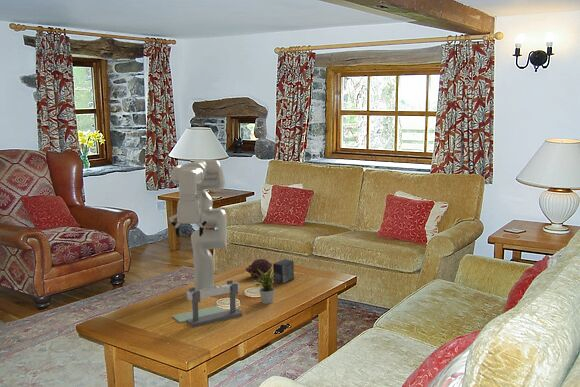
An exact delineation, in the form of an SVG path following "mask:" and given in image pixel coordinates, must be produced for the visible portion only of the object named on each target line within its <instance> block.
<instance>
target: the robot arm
mask: <svg viewBox="0 0 580 387" xmlns="http://www.w3.org/2000/svg"><path fill="white" fill-rule="evenodd" d="M170 178H171V181H172V183H174V185H178V192H179V193H178V194H179V200H178V201H177V207H176V214H174V215H172V216H170V217H168V220H169V222H170V223H171V225H172V226H173V227H174V228H175V236H177V238H179V237H180V236H181V231H180V230H181V229H180V225H181V224H182V225H190V224H191V225H193V224H195V225H196V227H198V228H199V229H196V230H194V231H192V232H191V235H190V242H191V247H192V255H193V273H194V274H193V276H194V287H195V290H199V289H205V288H210V287H215V283H214V278H215V277H214V256H213V254H212V253H211V251H210V250H211V249H215V250H216V249H217V250H219V249H220V250H221V249H224V248H225V247H226V245H227V238H228V237H227V236H228V215H227V212H226V210H225V209H223V208H213V202H214V201H213V198H212V196H211V195H210V194H209V193H208V191H220V190H222V189H224V187H225V182H226V180H225V175H224V170H223V166H222V164H221V162H220V161H219V160H218V159H198V160H194V162H189V163H185V164H178V165H176V166H174V167H173V168H172V170H171V173H170ZM174 219H176V221H174ZM204 228H206V229H204ZM207 228H217V229H207Z"/></svg>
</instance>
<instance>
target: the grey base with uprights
mask: <svg viewBox="0 0 580 387" xmlns="http://www.w3.org/2000/svg"><path fill="white" fill-rule="evenodd" d="M230 283H233V284H232V292H230V293H229V303H230V310H228V311H224V312H219V313H215V314H210V315H205V316H201V317H198V310H199V303H201V298H200V291H199V290H197V291H194V290H195V286H193V287H189V289H188V290H189V291H194V300H191V303H192V304H191V305H192V311H193V318H192V319H187V322H186V324H187V325H189V326H190V327H191V328H195V327H201V326H205V325H208V324H212V323H213V324H214V323H217V322H222V321H226V320H230V319H235V318H239V317H240V318H241V317H243V312H242V311H240V309H239V310H237V309H236V307H237V305H236V296H237V295H238V293H239V291H238V282H237V283H235V282H234V281H233V279H229V280H226V284H230ZM189 291H188V292H189Z"/></svg>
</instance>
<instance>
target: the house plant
mask: <svg viewBox="0 0 580 387" xmlns="http://www.w3.org/2000/svg"><path fill="white" fill-rule="evenodd" d="M257 270H258V269H257ZM259 271H260V270H259ZM273 272H274V271H273V267H271V269H270V270H268V272H267V273H266V275H265V274H264V273H263V272H261V271H260V273H261V275H262V276H259V275H258V276H259V278H257V279H258V280H254V279H253V280H251V281H252V282H253V283H255V284H254V286H255V288H257V287H259V286H261V287H260V288H259V293H260V294H259V295H260V300H261V303H262V304H265V305H266V304H268V305H269V304H272V303H273V302H274V295H275V294H274V293H275V288H274V286H273V284H276V283H275V282H274V278H275V277H276V276H275V277H274V275H275V273H274V275H273ZM256 275H257V274H256ZM276 282H279V281H276Z"/></svg>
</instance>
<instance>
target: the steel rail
mask: <svg viewBox="0 0 580 387" xmlns="http://www.w3.org/2000/svg"><path fill="white" fill-rule="evenodd" d="M233 283H238V282H237V281H236V282H233ZM233 283H230V284H227V283H226V284H222V285H216V286H215V285H214V286H215V287H210V288H205V289H199V291H200V299H205V298H209V297H214V296H219V295H223V294H224V295H225V294H230V292H232V284H233ZM240 285H241V283H238V292H239V291H240V290H241V286H240ZM194 291H197V290H194ZM194 291H186V300H188V301H191V302H192V300H194Z"/></svg>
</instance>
